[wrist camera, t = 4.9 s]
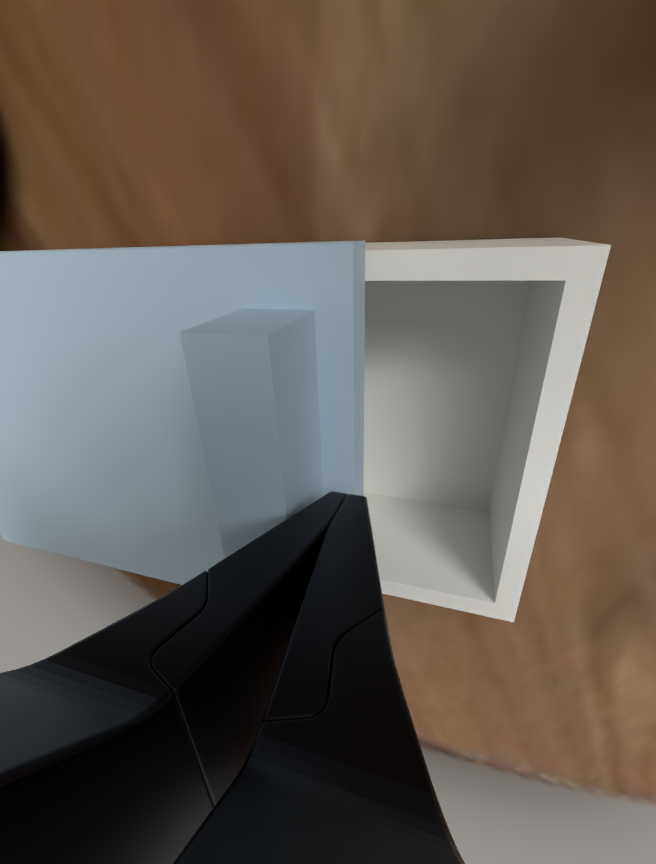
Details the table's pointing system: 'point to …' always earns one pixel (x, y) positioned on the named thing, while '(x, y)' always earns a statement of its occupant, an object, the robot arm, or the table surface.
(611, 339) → the table surface
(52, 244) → the table surface
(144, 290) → the lid
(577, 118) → the table surface
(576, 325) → the box
